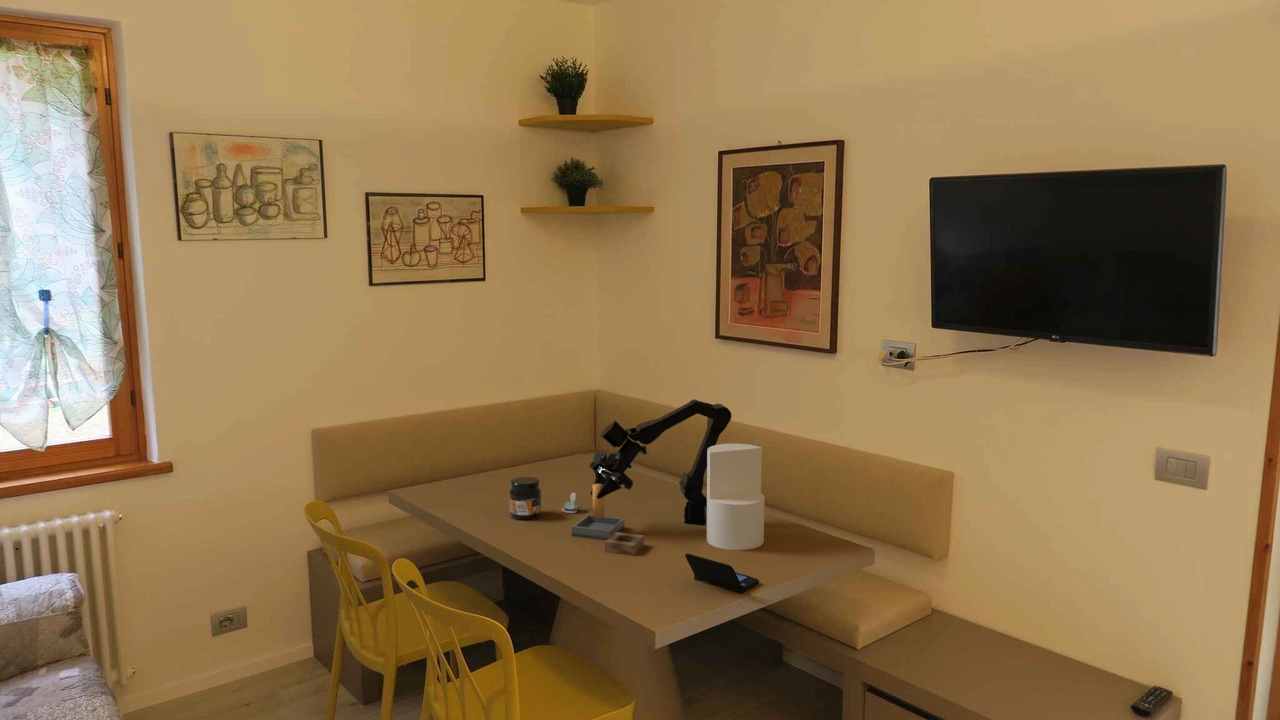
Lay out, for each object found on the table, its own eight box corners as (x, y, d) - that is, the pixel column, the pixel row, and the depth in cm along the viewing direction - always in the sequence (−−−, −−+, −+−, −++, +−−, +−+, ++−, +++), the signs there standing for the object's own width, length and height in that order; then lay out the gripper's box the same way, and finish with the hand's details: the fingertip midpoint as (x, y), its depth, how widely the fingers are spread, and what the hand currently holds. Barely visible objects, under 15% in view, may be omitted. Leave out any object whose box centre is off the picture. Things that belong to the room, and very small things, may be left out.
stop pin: (605, 515, 277) (605, 484, 275) (601, 518, 274) (601, 487, 272) (595, 514, 278) (595, 483, 277) (591, 517, 275) (590, 486, 273)
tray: (624, 527, 280) (624, 518, 280) (609, 540, 269) (609, 531, 268) (587, 523, 285) (587, 514, 284) (571, 535, 273) (571, 526, 272)
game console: (761, 584, 235) (761, 552, 234) (731, 600, 225) (731, 566, 224) (713, 570, 245) (714, 539, 244) (683, 584, 235) (683, 552, 234)
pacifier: (570, 516, 293) (584, 512, 297) (569, 498, 292) (584, 494, 296) (557, 511, 299) (572, 506, 302) (556, 493, 298) (571, 489, 301)
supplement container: (520, 522, 286) (519, 486, 284) (503, 515, 294) (502, 479, 292) (547, 516, 292) (547, 481, 290) (530, 508, 300) (529, 474, 299)
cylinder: (697, 534, 274) (697, 446, 270) (747, 528, 280) (748, 441, 276) (721, 553, 258) (722, 459, 254) (774, 545, 264) (775, 454, 260)
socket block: (644, 545, 265) (644, 535, 264) (633, 555, 256) (633, 545, 256) (616, 541, 268) (616, 532, 267) (604, 551, 259) (604, 541, 259)
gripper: (594, 436, 282) (563, 474, 278) (624, 447, 267) (592, 488, 263) (615, 456, 288) (586, 494, 283) (646, 469, 272) (615, 510, 268)
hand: (594, 496), depth 274 cm, fingers closed on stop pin, 3 cm apart
